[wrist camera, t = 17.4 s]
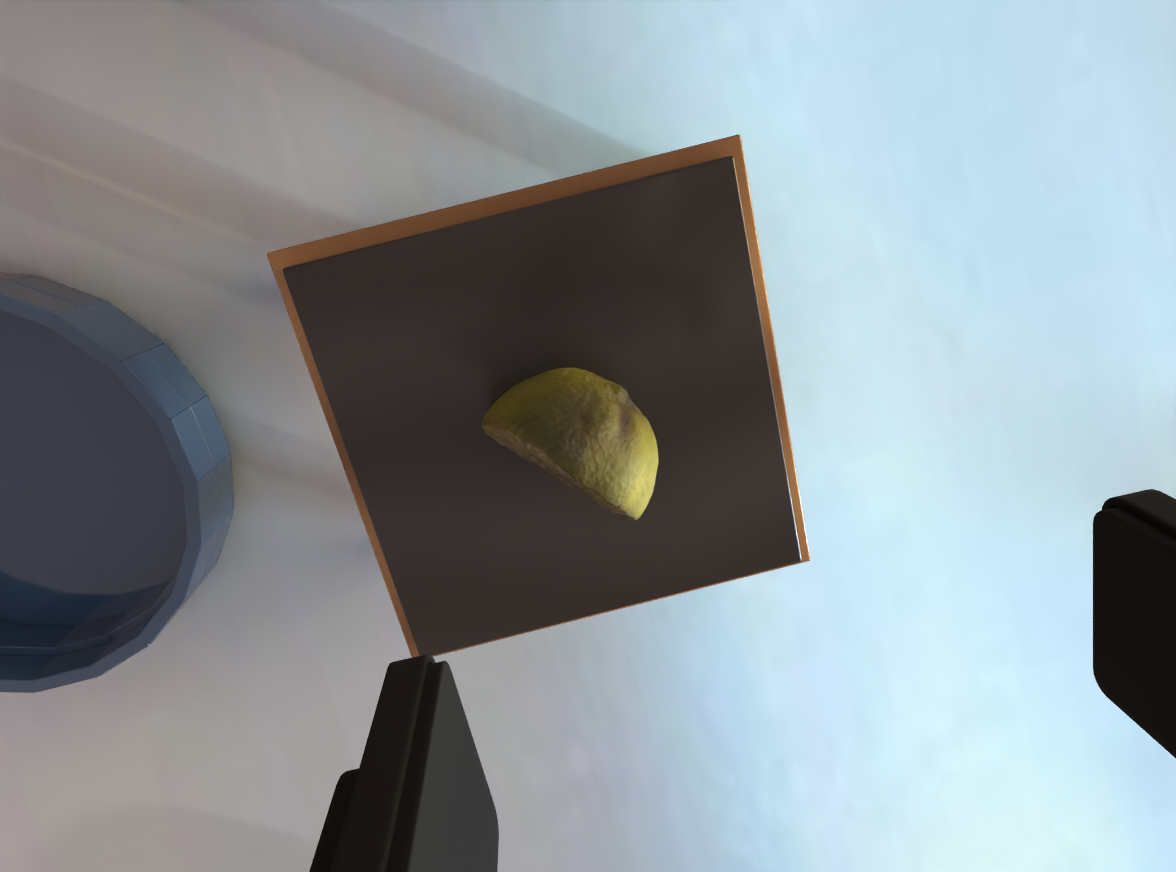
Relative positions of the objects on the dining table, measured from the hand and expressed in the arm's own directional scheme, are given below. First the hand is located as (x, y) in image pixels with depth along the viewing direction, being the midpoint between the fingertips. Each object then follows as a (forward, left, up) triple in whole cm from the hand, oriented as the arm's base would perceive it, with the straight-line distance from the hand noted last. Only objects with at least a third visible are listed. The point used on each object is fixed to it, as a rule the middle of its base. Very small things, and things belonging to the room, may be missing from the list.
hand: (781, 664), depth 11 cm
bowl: (-1, -24, -23) cm, 34 cm away
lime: (0, -2, -14) cm, 14 cm away
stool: (0, -2, -23) cm, 23 cm away
